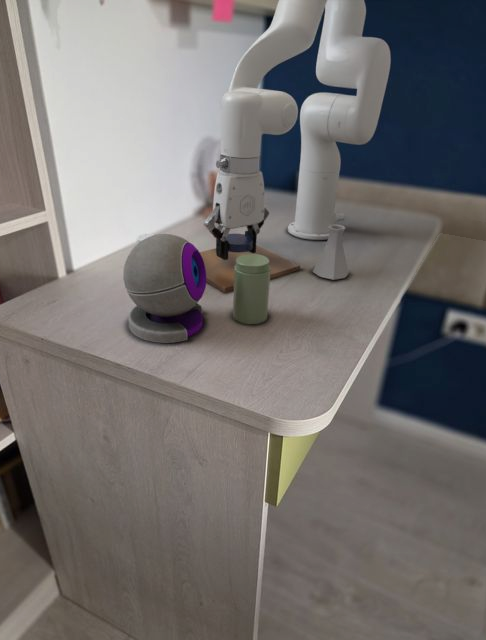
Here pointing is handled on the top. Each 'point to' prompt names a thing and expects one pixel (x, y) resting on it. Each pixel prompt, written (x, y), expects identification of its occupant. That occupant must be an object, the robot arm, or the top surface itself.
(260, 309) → the jar
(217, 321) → the top surface
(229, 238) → the lid
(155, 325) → the webcam
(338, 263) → the flask
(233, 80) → the robot arm
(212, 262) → the mat
